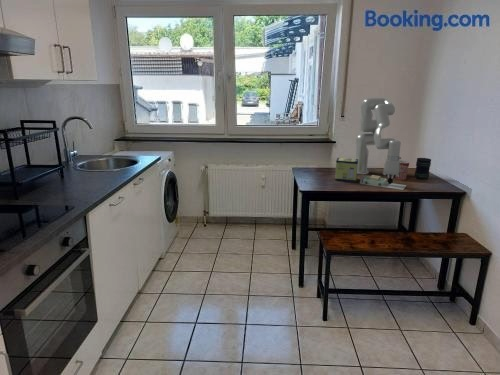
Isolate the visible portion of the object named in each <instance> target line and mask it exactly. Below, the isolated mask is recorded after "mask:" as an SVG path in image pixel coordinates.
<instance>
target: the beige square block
mask: <svg viewBox="0 0 500 375" xmlns="http://www.w3.org/2000/svg"><path fill="white" fill-rule="evenodd" d="M369 177H370V180H374V181H380V178H381V175H374V174H372V175H370V176H369Z"/></svg>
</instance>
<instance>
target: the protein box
mask: <svg viewBox="0 0 500 375" xmlns="http://www.w3.org/2000/svg"><path fill="white" fill-rule="evenodd" d="M357 169H358V159H356V158H347V157H337V159H336V161H335V175H334V176H335V177H334V181H336V182H337V181H339V182H348V183H349V182H351V183H357V179H358V174H357Z"/></svg>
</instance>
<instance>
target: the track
mask: <svg viewBox="0 0 500 375" xmlns="http://www.w3.org/2000/svg"><path fill="white" fill-rule="evenodd" d="M366 177H367V174H363V176H361V177H360V180H359V184H360V185H366V186H374V187H380V188H381V187H382V188H386V189H392V190H399V191H404V190H405V188H406V187H407V185H405V184H399V183H391V184H388V181H386V183H385V184H384V185H383V186H381V185H380V186H379V185H374V184H368V183H366V184H365V183H363V179H364V178H366Z"/></svg>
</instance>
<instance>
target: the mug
mask: <svg viewBox="0 0 500 375" xmlns="http://www.w3.org/2000/svg"><path fill="white" fill-rule="evenodd" d="M410 163H411V162H410V161H407V160H400V173H399V176H398V177H395V180H397V181H406V180H407V176H408V171H409V166H410Z"/></svg>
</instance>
